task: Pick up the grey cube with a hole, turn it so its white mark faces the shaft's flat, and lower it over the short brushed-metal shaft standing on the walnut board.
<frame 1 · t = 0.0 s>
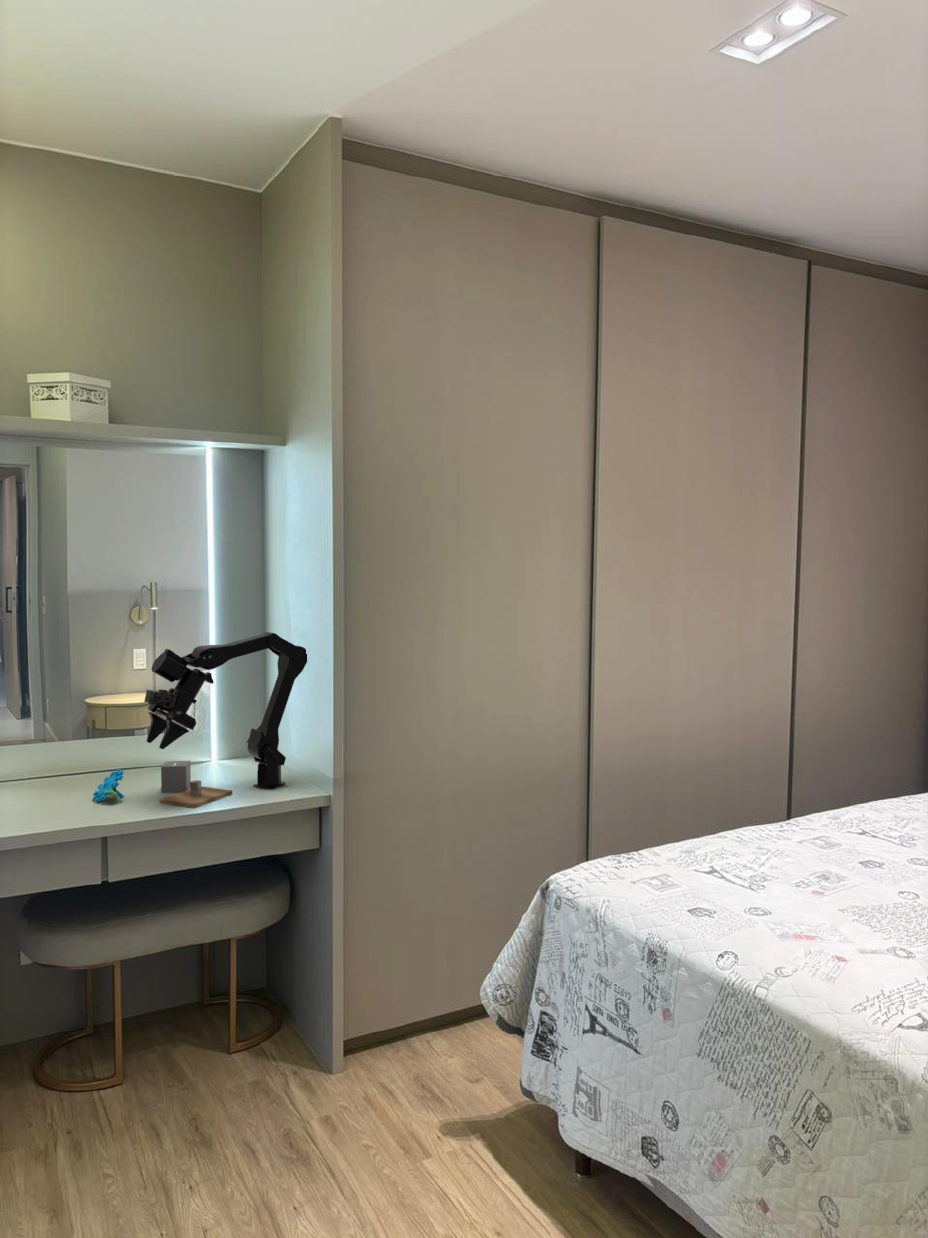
hand: (154, 745, 241), 15 cm above the table, tool tilted 35°, fingers open, 9 cm apart
grey cube with hole: (176, 789, 257), on the table
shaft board: (196, 798, 247), on the table
blue lumpy piece: (109, 801, 245), on the table
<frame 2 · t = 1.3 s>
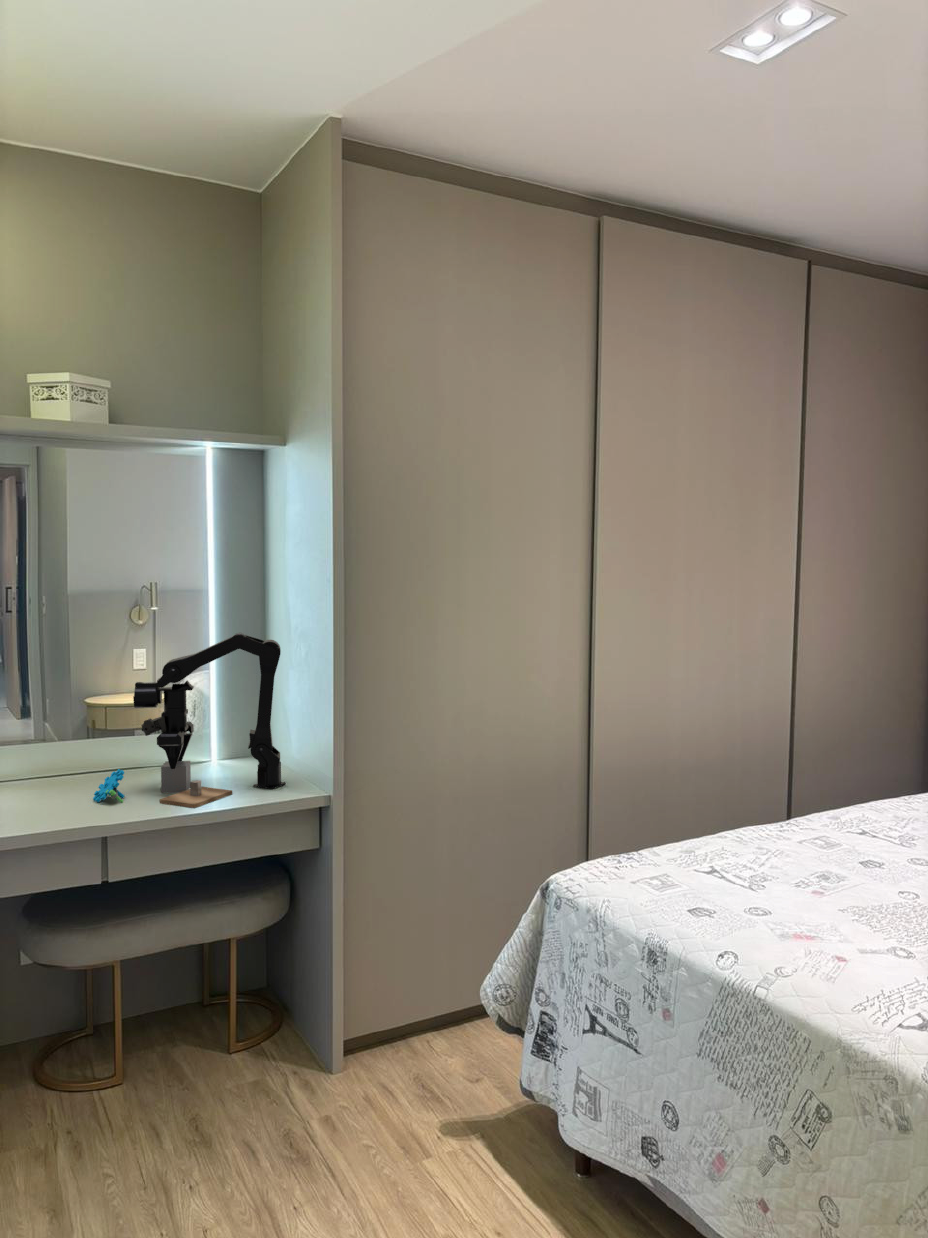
hand: (176, 765, 256), 7 cm above the table, tool pointing down, fingers open, 9 cm apart
nothing on the table moved.
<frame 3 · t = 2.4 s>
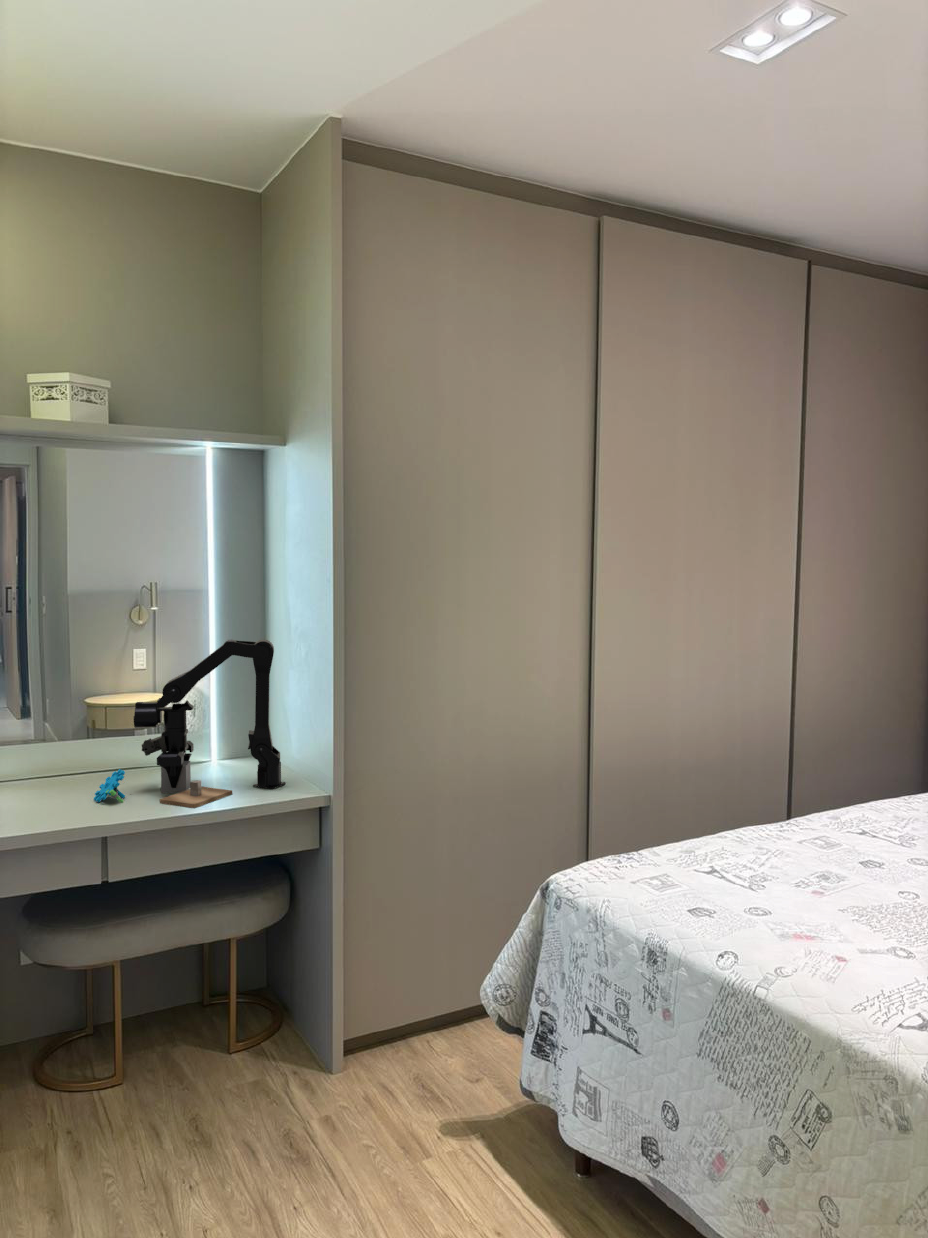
hand: (176, 784, 256), 1 cm above the table, tool pointing down, fingers closed on grey cube with hole, 6 cm apart
grey cube with hole: (176, 789, 257), on the table, touching gripper
everything else where it was.
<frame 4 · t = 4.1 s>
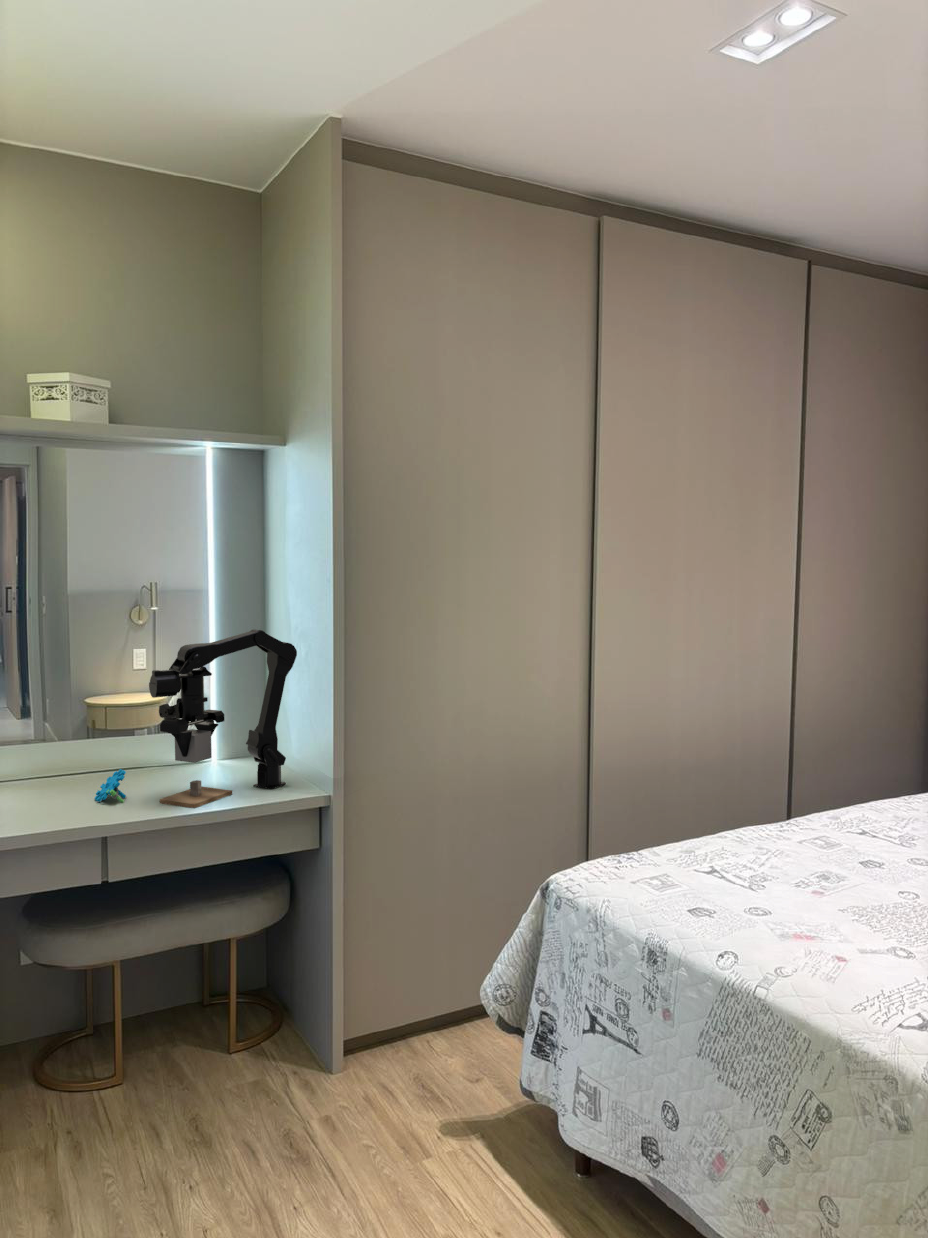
hand: (193, 754, 248), 11 cm above the table, tool pointing down, fingers closed on grey cube with hole, 6 cm apart
grey cube with hole: (193, 759, 248), point 10 cm above the table, touching gripper
everything else where it was.
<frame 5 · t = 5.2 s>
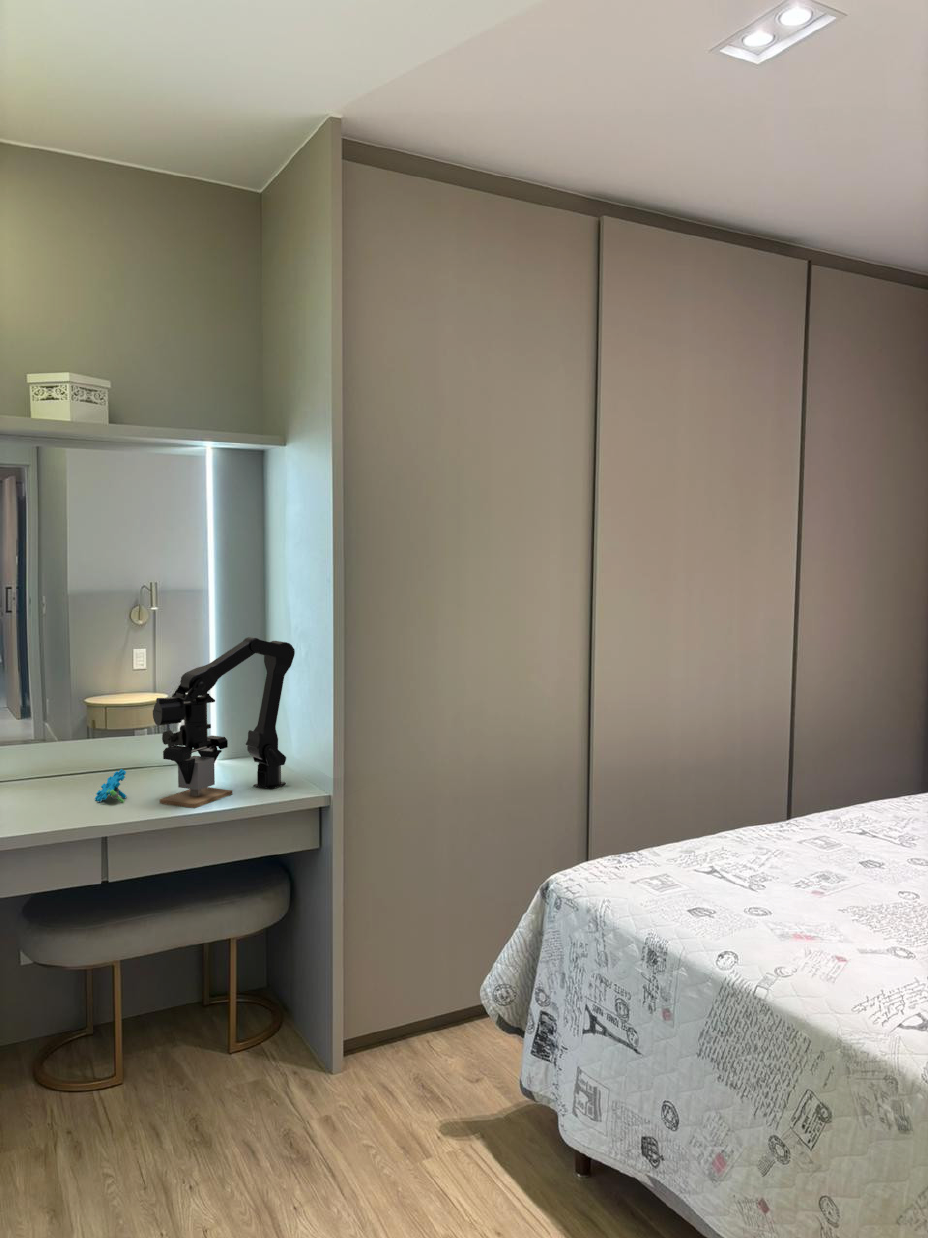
hand: (196, 781, 247), 5 cm above the table, tool pointing down, fingers closed on grey cube with hole, 6 cm apart
grey cube with hole: (196, 786, 247), point 3 cm above the table, touching gripper
everything else where it was.
when the fingers open (3 cm above the table, at t = 5.9 s): grey cube with hole stays where it is, resting on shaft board.
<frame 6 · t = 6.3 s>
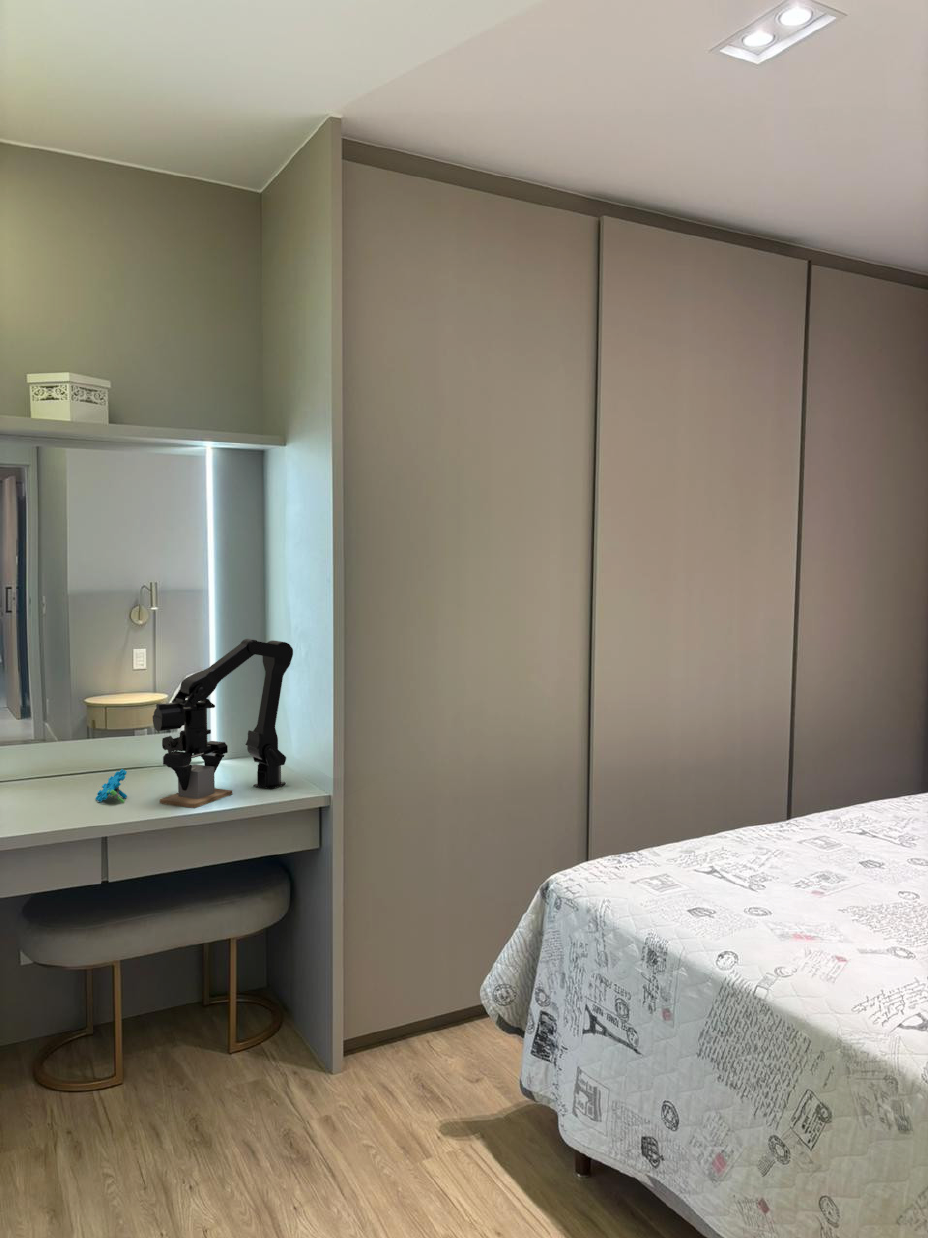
hand: (196, 786, 247), 3 cm above the table, tool pointing down, fingers open, 9 cm apart
grey cube with hole: (196, 794, 247), point 1 cm above the table, touching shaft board
everything else where it was.
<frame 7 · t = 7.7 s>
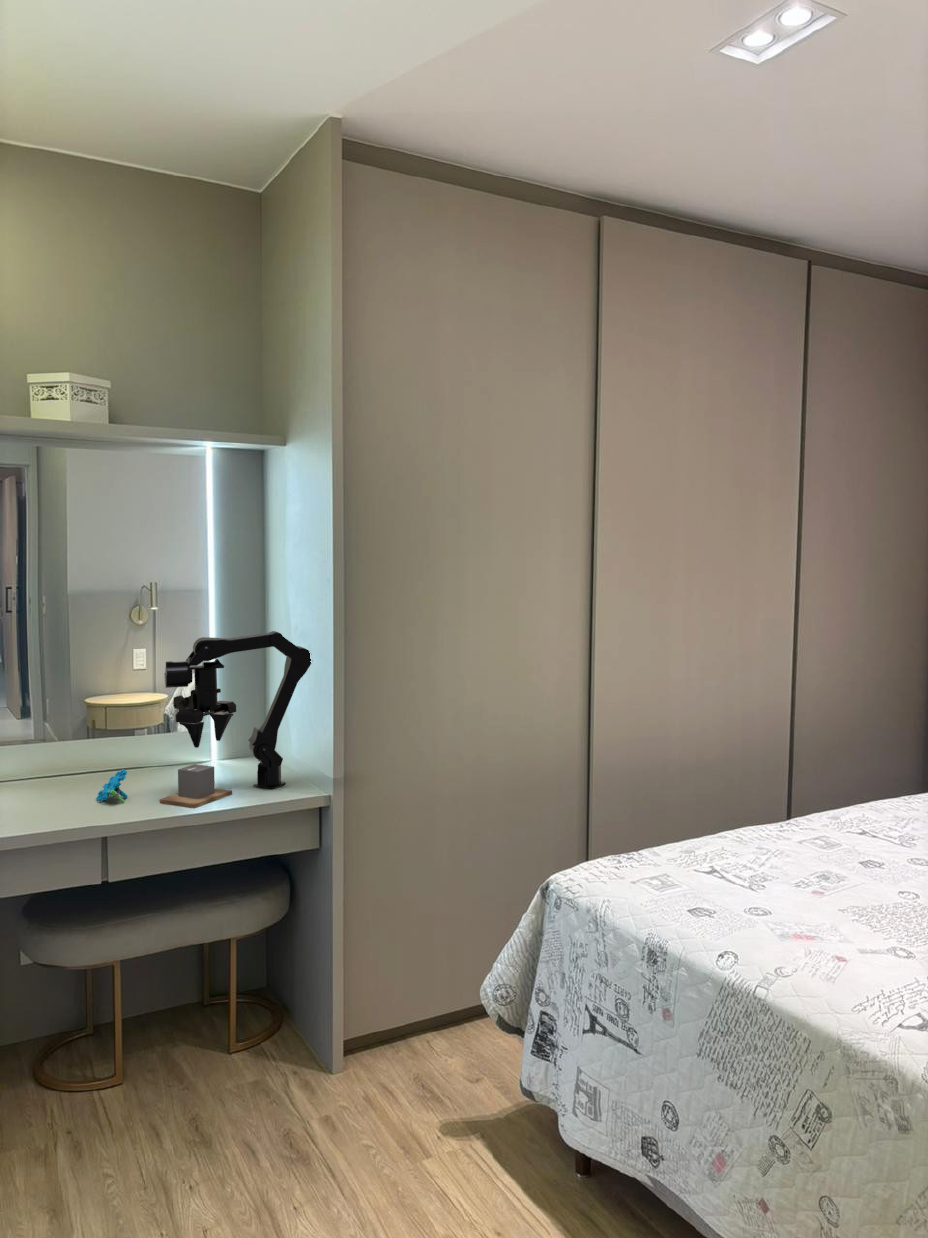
hand: (207, 744, 254), 13 cm above the table, tool pointing down, fingers open, 9 cm apart
nothing on the table moved.
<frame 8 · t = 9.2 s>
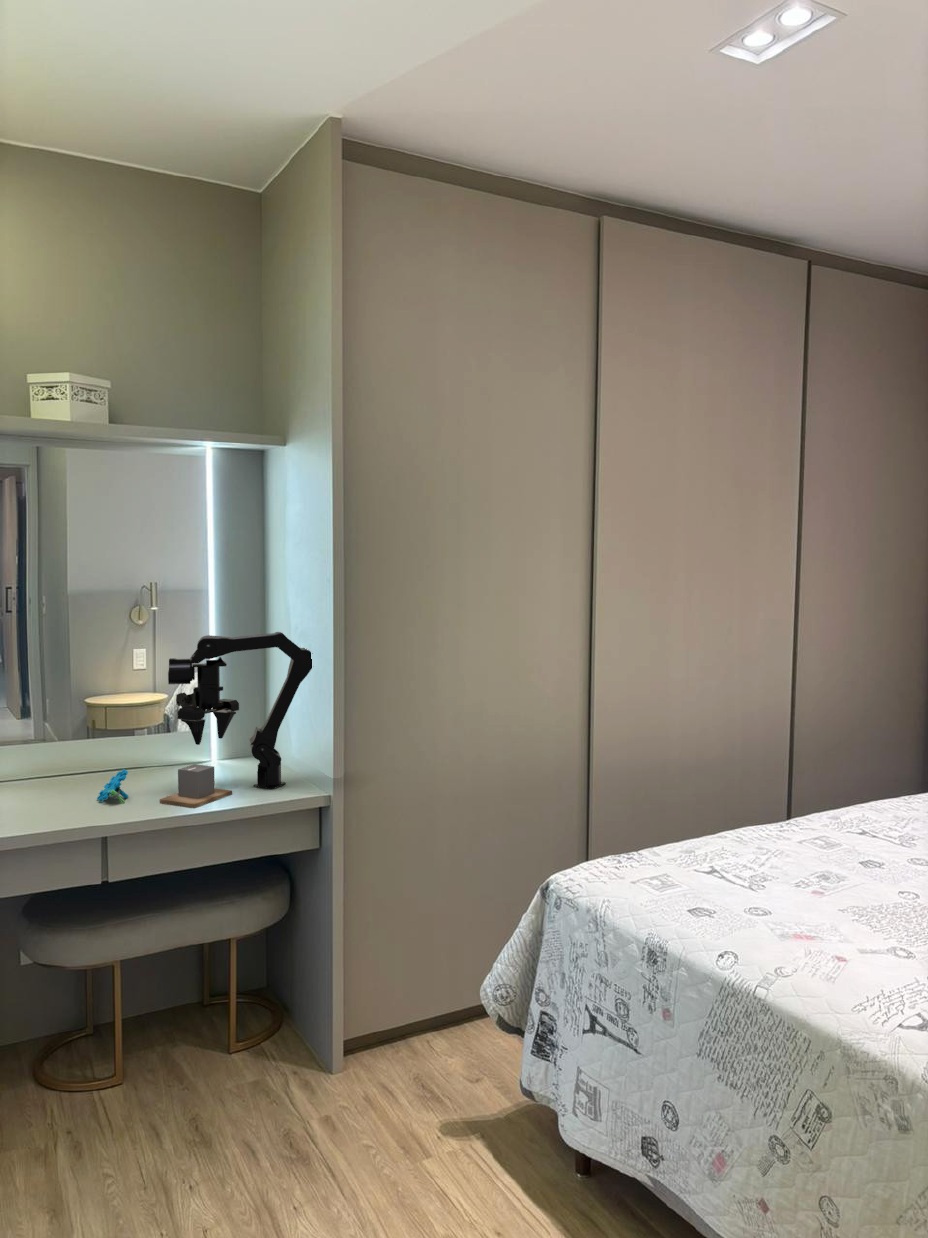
hand: (209, 741, 256), 13 cm above the table, tool pointing down, fingers open, 9 cm apart
at the end: grey cube with hole 0.0 cm off-centre on the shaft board, point 1.0 cm above the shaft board's base; grey cube with hole tilted 0°; the gripper is holding nothing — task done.
